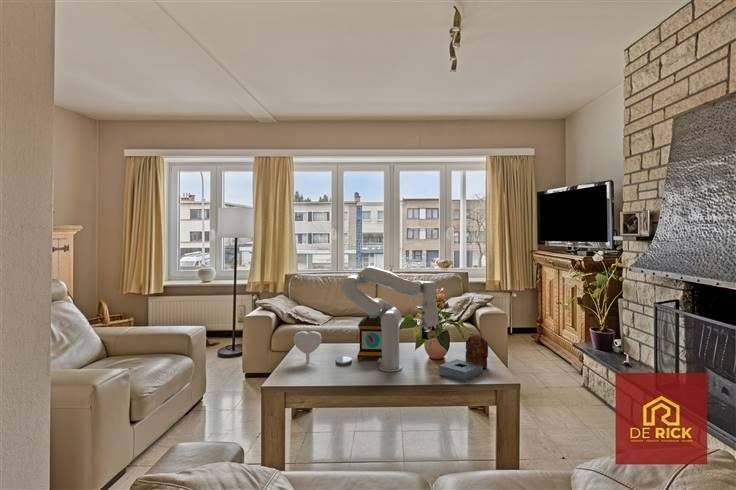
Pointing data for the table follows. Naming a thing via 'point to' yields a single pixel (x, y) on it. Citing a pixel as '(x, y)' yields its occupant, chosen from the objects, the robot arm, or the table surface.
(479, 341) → the wooden figurine
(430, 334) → the bushing
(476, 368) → the block
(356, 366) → the table surface
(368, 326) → the decorative lantern
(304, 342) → the heart sculpture
